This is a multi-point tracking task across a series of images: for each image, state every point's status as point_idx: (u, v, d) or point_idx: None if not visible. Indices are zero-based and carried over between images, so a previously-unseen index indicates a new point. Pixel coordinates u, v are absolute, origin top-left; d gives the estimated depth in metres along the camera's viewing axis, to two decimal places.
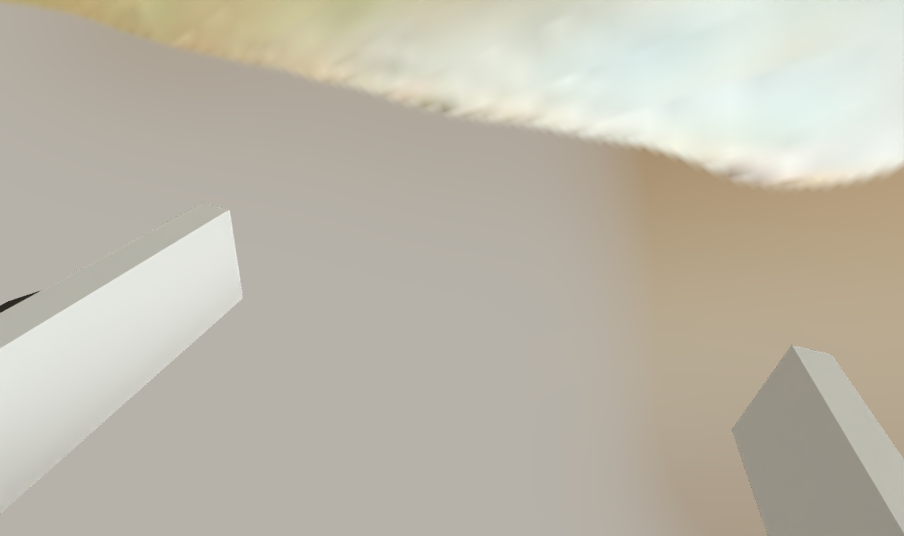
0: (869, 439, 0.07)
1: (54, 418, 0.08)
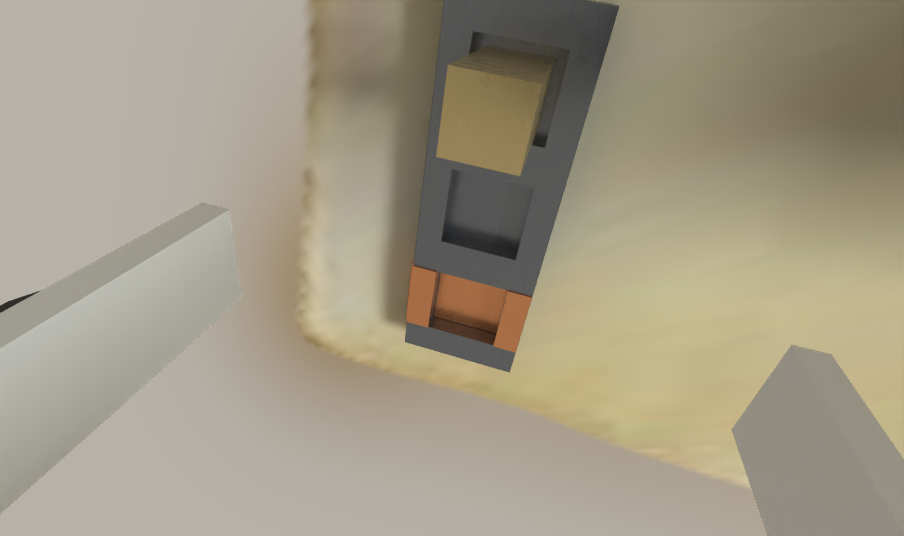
0: (869, 439, 0.07)
1: (55, 418, 0.08)
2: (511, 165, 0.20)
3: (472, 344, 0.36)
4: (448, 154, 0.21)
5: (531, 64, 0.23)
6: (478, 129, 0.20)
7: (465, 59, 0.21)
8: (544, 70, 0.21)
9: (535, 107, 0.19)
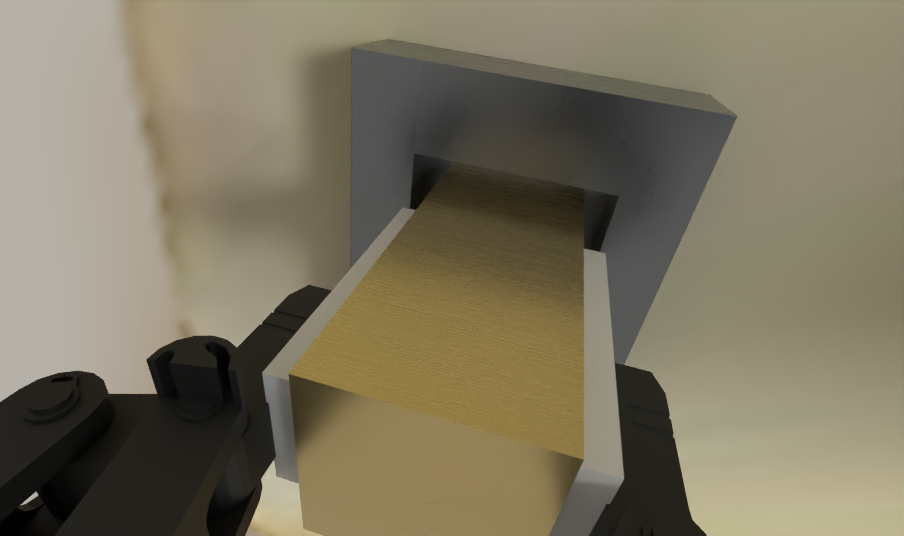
0: (592, 298, 0.10)
1: None
2: None
3: None
4: (332, 531, 0.08)
5: (539, 257, 0.10)
6: (398, 507, 0.07)
7: (369, 289, 0.08)
8: (573, 294, 0.09)
9: (561, 499, 0.06)
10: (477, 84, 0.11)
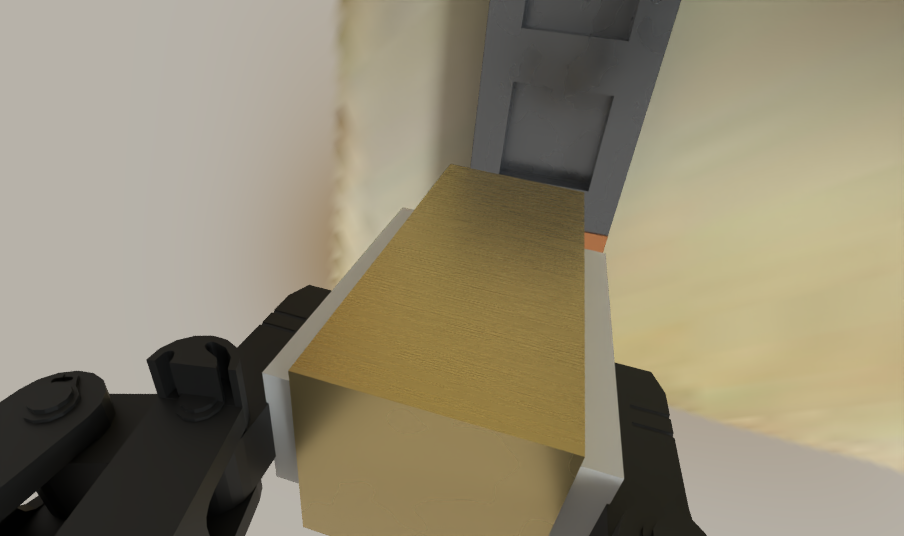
0: (592, 298, 0.10)
1: None
2: None
3: None
4: (332, 530, 0.08)
5: (539, 255, 0.10)
6: (398, 505, 0.07)
7: (369, 286, 0.08)
8: (573, 291, 0.09)
9: (561, 496, 0.06)
10: None
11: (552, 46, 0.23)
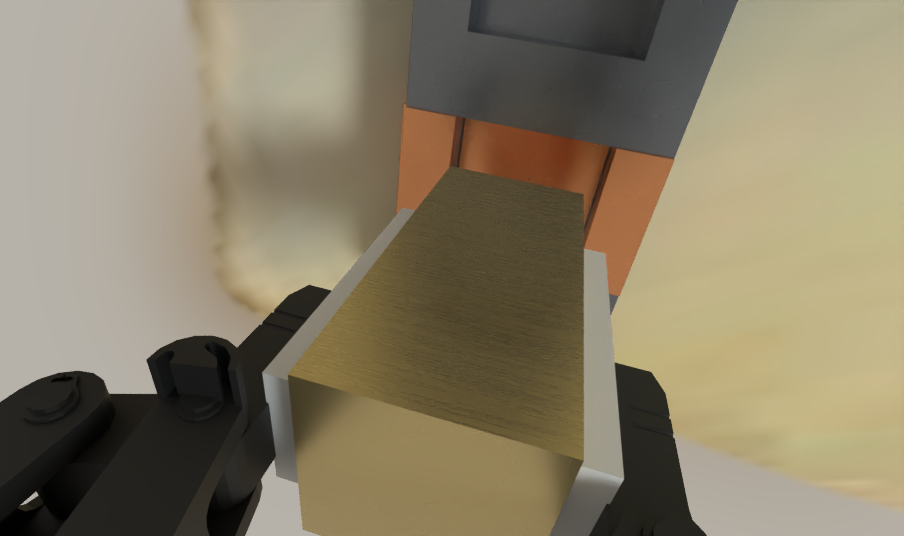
0: (592, 298, 0.10)
1: None
2: None
3: None
4: (331, 532, 0.08)
5: (539, 258, 0.10)
6: (398, 508, 0.07)
7: (369, 289, 0.08)
8: (573, 294, 0.09)
9: (561, 500, 0.06)
10: None
11: None
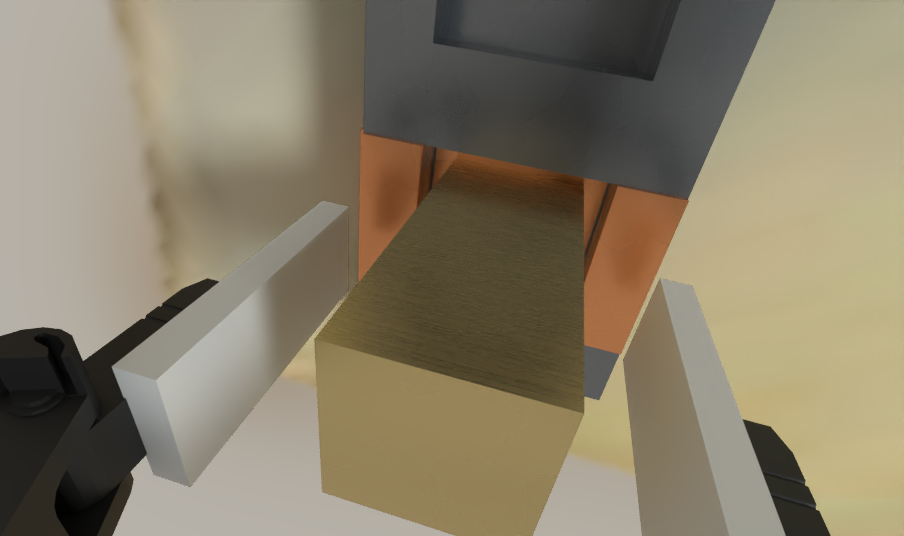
0: (695, 341, 0.09)
1: (236, 392, 0.09)
2: None
3: None
4: (349, 494, 0.09)
5: (542, 241, 0.10)
6: (412, 467, 0.08)
7: (384, 267, 0.09)
8: (574, 273, 0.09)
9: (563, 453, 0.07)
10: None
11: None
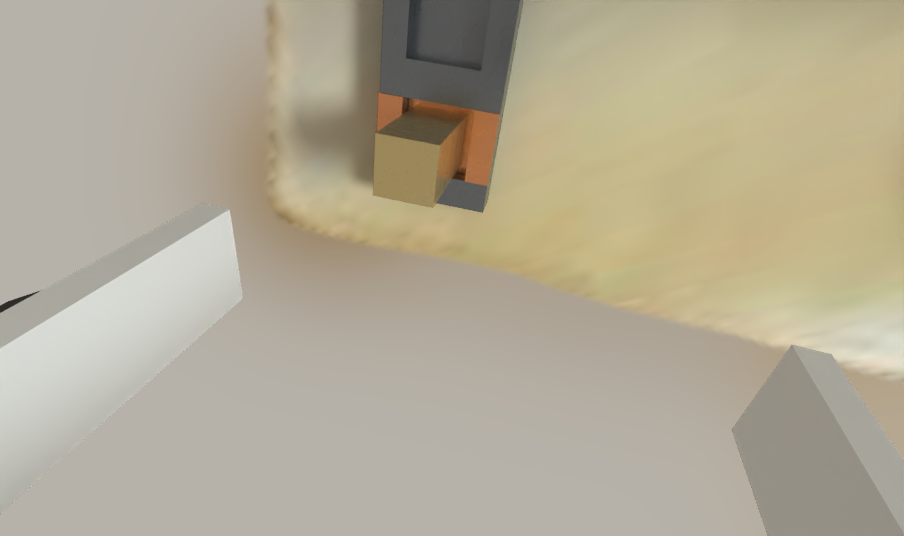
0: (869, 439, 0.07)
1: (54, 418, 0.08)
2: (426, 200, 0.29)
3: None
4: (381, 193, 0.29)
5: (443, 124, 0.31)
6: (400, 175, 0.28)
7: (391, 125, 0.29)
8: (450, 130, 0.30)
9: (437, 160, 0.27)
10: None
11: None
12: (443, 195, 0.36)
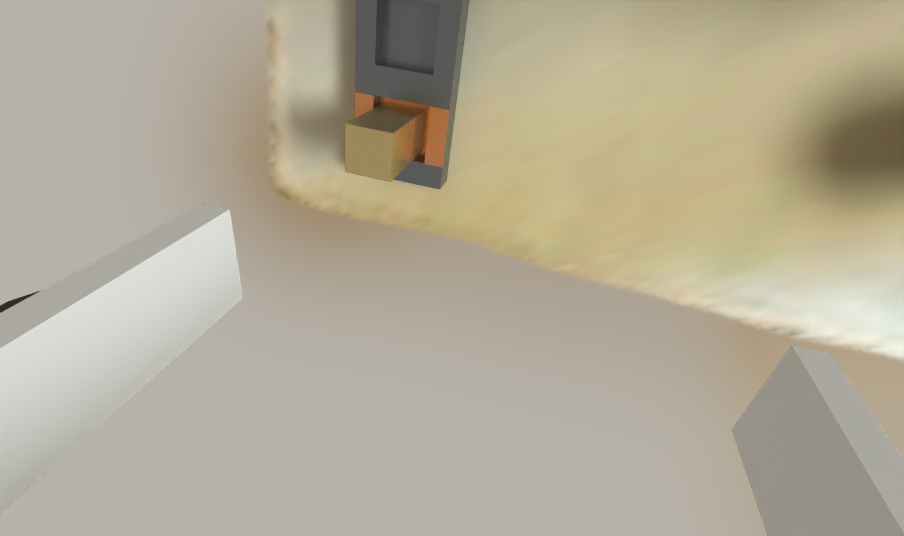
0: (869, 439, 0.07)
1: (54, 418, 0.08)
2: (385, 176, 0.37)
3: (408, 165, 0.44)
4: (351, 170, 0.38)
5: (402, 117, 0.39)
6: (365, 156, 0.37)
7: (359, 117, 0.37)
8: (406, 121, 0.38)
9: (392, 145, 0.36)
10: None
11: None
12: (408, 175, 0.45)
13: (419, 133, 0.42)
